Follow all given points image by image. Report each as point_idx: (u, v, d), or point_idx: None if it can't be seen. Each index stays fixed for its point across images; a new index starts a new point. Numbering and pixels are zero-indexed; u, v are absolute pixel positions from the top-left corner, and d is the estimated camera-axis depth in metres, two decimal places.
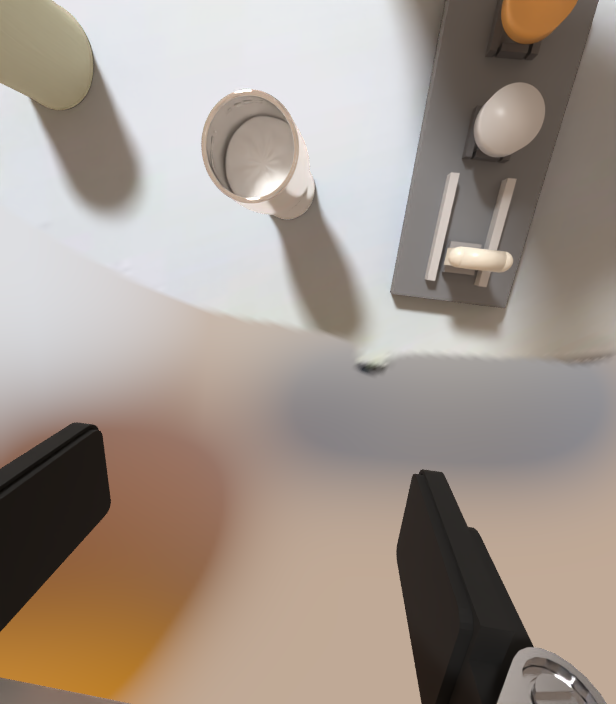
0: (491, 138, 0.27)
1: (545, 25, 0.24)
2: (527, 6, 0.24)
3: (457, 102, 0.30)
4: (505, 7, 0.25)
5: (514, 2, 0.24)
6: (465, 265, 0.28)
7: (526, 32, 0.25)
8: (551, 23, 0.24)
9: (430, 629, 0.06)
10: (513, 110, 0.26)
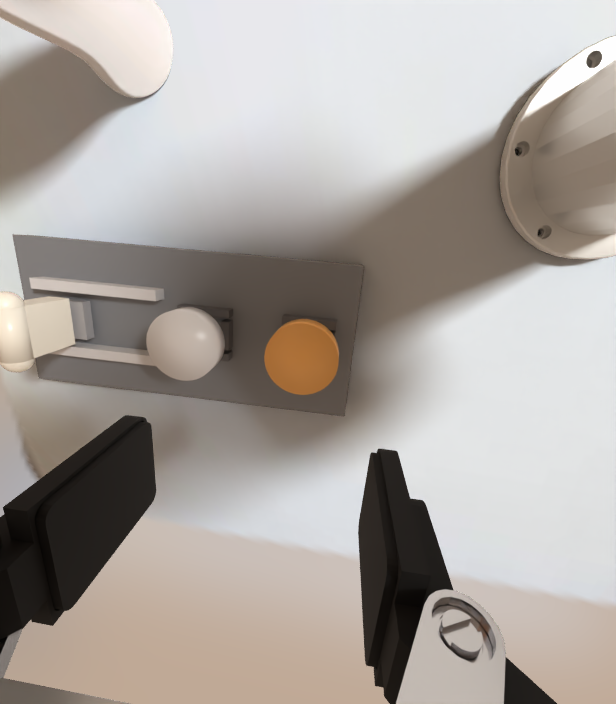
0: (157, 326, 0.21)
1: (269, 365, 0.21)
2: (286, 343, 0.21)
3: (239, 289, 0.24)
4: (296, 321, 0.21)
5: (290, 329, 0.20)
6: None
7: None
8: (271, 371, 0.21)
9: (371, 585, 0.07)
10: (188, 346, 0.21)
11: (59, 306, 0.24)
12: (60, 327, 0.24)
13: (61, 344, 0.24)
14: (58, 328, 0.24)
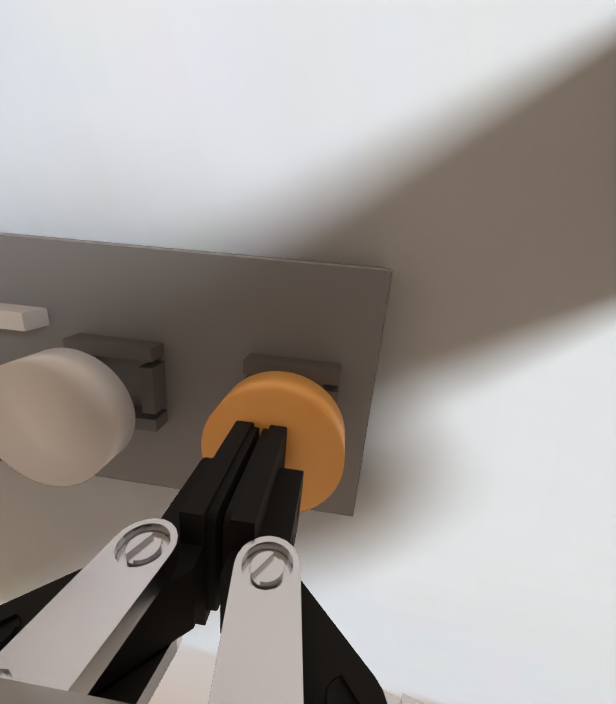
0: None
1: None
2: None
3: (171, 310, 0.14)
4: (263, 379, 0.11)
5: (249, 399, 0.10)
6: None
7: None
8: None
9: None
10: (53, 428, 0.11)
11: None
12: None
13: None
14: None
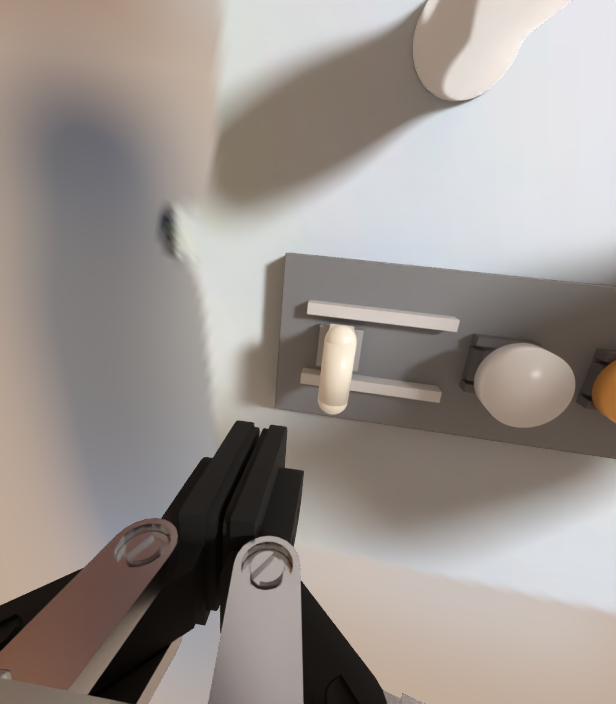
0: (507, 367, 0.18)
1: (615, 403, 0.20)
2: None
3: (548, 319, 0.21)
4: None
5: None
6: (327, 350, 0.18)
7: (612, 383, 0.20)
8: None
9: None
10: (538, 390, 0.18)
11: None
12: None
13: None
14: None
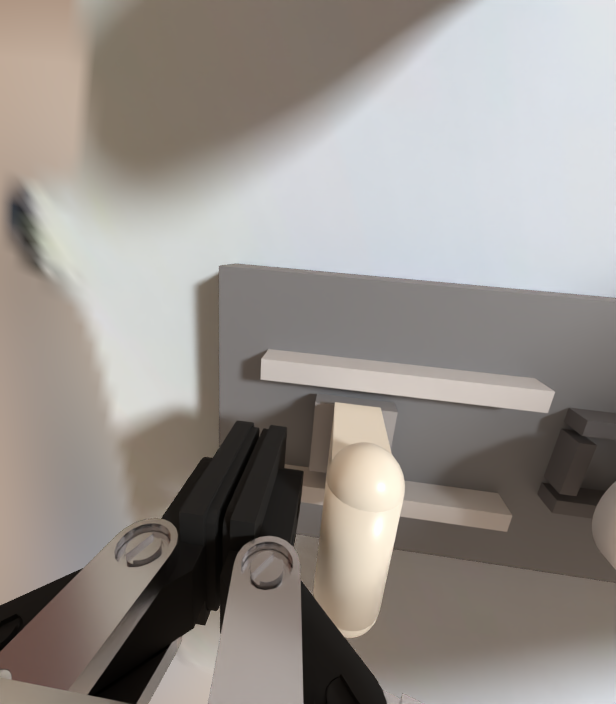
0: None
1: None
2: None
3: None
4: None
5: None
6: (334, 514, 0.07)
7: None
8: None
9: None
10: None
11: None
12: None
13: None
14: None
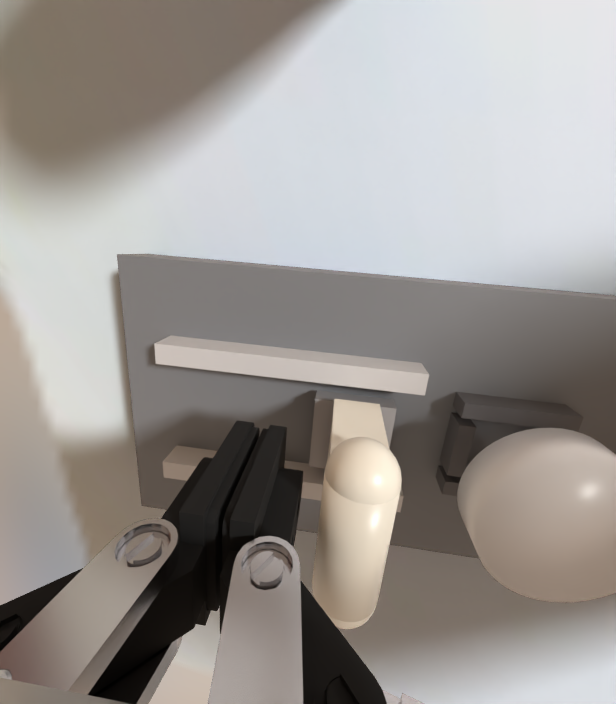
0: (524, 491, 0.08)
1: None
2: None
3: (592, 368, 0.12)
4: None
5: None
6: (332, 507, 0.07)
7: None
8: None
9: None
10: (592, 537, 0.09)
11: None
12: None
13: None
14: None
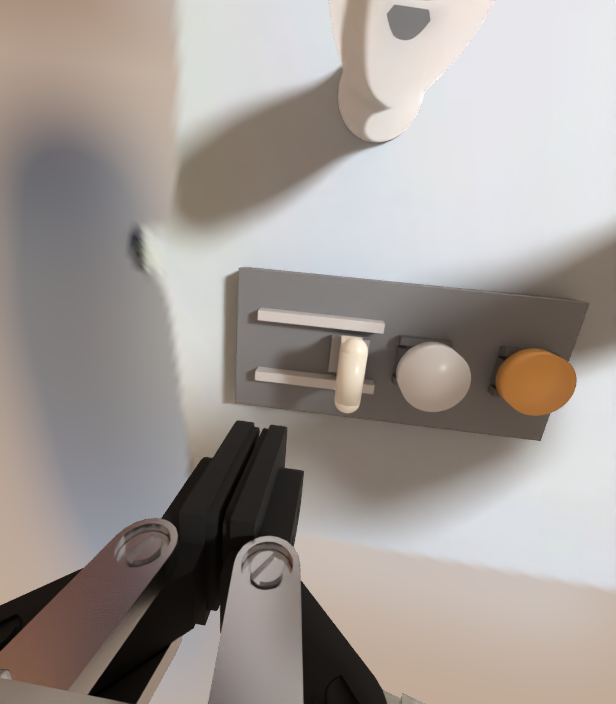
0: (416, 361, 0.22)
1: (509, 390, 0.24)
2: (530, 371, 0.23)
3: (459, 322, 0.26)
4: (534, 351, 0.24)
5: (537, 359, 0.23)
6: (343, 359, 0.21)
7: (506, 374, 0.24)
8: (510, 395, 0.24)
9: None
10: (442, 380, 0.23)
11: None
12: None
13: None
14: None
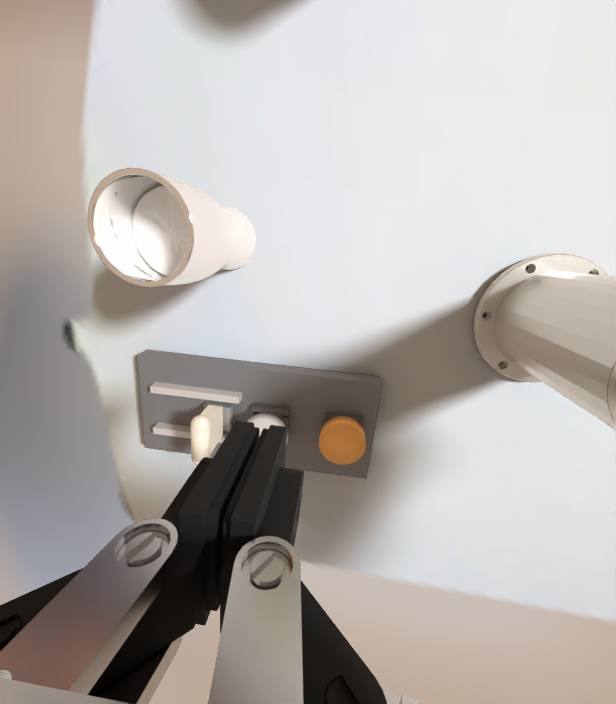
0: None
1: (322, 447, 0.34)
2: (333, 434, 0.33)
3: (295, 394, 0.35)
4: (338, 419, 0.33)
5: (336, 426, 0.33)
6: (191, 431, 0.31)
7: (320, 435, 0.34)
8: (322, 450, 0.34)
9: None
10: None
11: (219, 414, 0.34)
12: (219, 427, 0.35)
13: (218, 439, 0.35)
14: (218, 429, 0.34)
